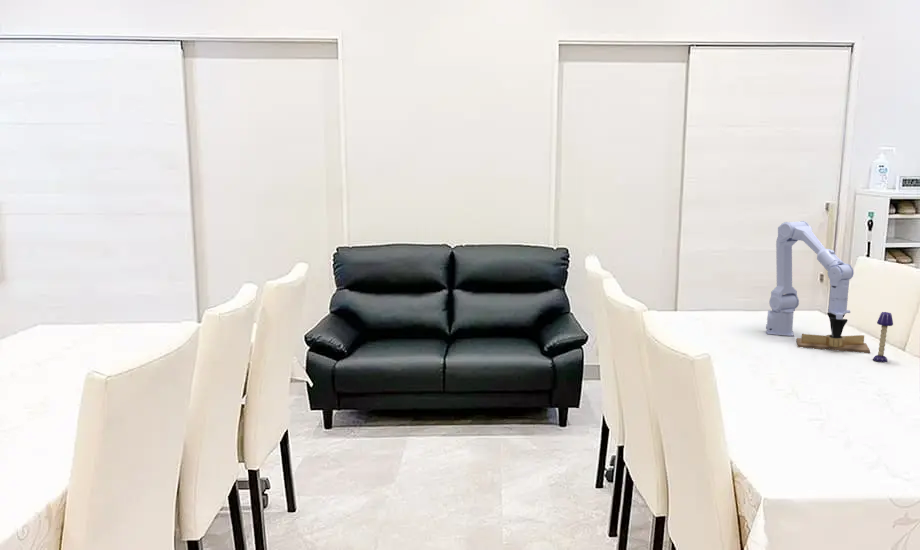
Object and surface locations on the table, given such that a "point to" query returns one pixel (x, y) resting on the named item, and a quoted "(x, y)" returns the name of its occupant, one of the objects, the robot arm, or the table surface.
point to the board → (849, 348)
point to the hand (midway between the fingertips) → (835, 335)
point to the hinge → (833, 340)
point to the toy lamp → (883, 334)
